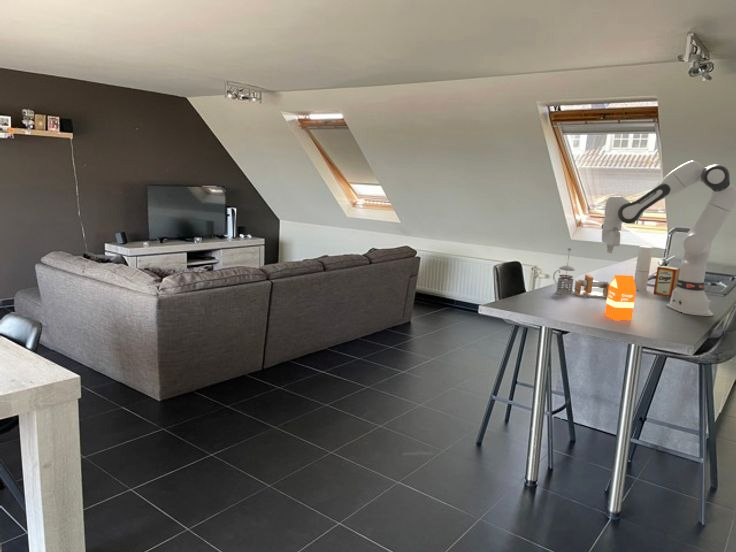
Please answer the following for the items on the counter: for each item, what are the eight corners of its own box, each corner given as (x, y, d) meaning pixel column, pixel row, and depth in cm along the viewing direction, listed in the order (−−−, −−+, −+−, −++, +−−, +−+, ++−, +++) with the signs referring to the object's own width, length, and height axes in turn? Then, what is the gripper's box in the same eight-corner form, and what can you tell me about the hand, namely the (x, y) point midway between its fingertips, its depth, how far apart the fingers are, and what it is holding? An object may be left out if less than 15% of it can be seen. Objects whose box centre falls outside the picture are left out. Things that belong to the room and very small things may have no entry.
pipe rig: (613, 298, 289) (615, 284, 288) (576, 295, 292) (578, 281, 290) (607, 294, 300) (609, 280, 298) (571, 291, 302) (573, 277, 301)
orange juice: (604, 315, 252) (610, 273, 248) (622, 316, 252) (628, 274, 249) (613, 320, 244) (619, 276, 240) (631, 321, 245) (638, 277, 241)
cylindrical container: (643, 288, 323) (649, 246, 318) (648, 290, 316) (655, 248, 311) (631, 287, 323) (637, 245, 319) (635, 289, 316) (642, 247, 312)
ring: (591, 293, 291) (593, 277, 290) (587, 293, 292) (589, 277, 290) (587, 289, 300) (589, 274, 298) (583, 289, 300) (585, 274, 298)
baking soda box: (675, 296, 304) (680, 267, 301) (671, 297, 300) (675, 268, 297) (657, 292, 311) (662, 265, 308) (653, 293, 307) (657, 266, 304)
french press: (570, 296, 289) (576, 250, 284) (548, 292, 296) (554, 247, 291) (575, 293, 297) (581, 248, 292) (554, 290, 304) (560, 245, 299)
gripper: (624, 228, 277) (621, 255, 280) (612, 225, 297) (610, 250, 300) (611, 228, 278) (609, 255, 281) (600, 225, 298) (598, 250, 301)
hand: (609, 252), depth 290 cm, fingers closed
